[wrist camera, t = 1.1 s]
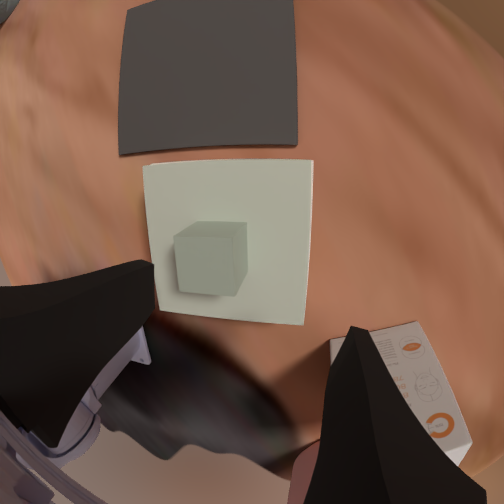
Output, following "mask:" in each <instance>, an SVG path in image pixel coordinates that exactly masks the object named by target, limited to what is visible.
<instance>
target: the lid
mask: <svg viewBox="0 0 504 504" xmlns="http://www.w3.org/2000/svg"><path fill="white" fill-rule="evenodd" d="M143 180H144V194H145V206H146V216H147V226H148V235H149V243H150V251H151V258H152V263H153V264H154V278H155V284H156V290H157V296H158V302H159V307H160V310H162V311H168V312H175V313H183V314H190V315H198V316H206V317H215V318H223V319H233V320H243V321H253V322H265V323H278V324H292V325H304V313H305V301H306V287H307V272H308V255H309V234H310V205H311V160H297V159H240V160H212V161H194V162H179V163H167V164H156V165H147V166H143Z"/></svg>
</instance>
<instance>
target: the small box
mask: <svg viewBox="0 0 504 504" xmlns="http://www.w3.org/2000/svg"><path fill="white" fill-rule="evenodd" d="M369 333H370V335H371V337H372V339H373V341H374V343H375V345H376V347H377V349H378V351H379V353H380V355H381V357H382V359H383V361H384V363H385V365H386V367H387V369H388V371H389V373H390V374H391V376H392V378H393V380H394V382H395V384H396V385H397V387H398V389H399V390H400V392H401V394H402V396H403V397H404V399H405V401H406V402H407V404H408V405H409V407H410V409H411V410H412V412H413V413H414V414H415V416H416V417H417V419H418V420H419V422H420V423H421V425H422V426H423V427H424V429H425V430H426V431H427V433H428V434H429V435H430V436H431V437H432V439H433V440H434V441H435V442H436V444H437V445H438V446H439V447H440V448H441V450H442V451H443V452H444V453H445V454H446V455H447V456H448V457H449V458H450V459H451V460H452V461H453V462H454V463H455V464H456V465H457V466H458V465H459V464H460V462H461V461H462V459H463V458H464V456H465V454H466V453H467V451H468V449H469V448H470V446H471V445H472V440H471V437H470V434H469V432H468V429H467V426H466V424H465V421H464V419H463V416H462V414H461V411H460V408H459V406H458V403H457V401H456V399H455V396H454V394H453V391H452V389H451V387H450V385H449V383H448V380H447V378H446V376H445V374H444V372H443V369H442V367H441V365H440V363H439V361H438V359H437V357H436V355H435V352H434V350H433V348H432V346H431V345H430V343H429V341H428V339H427V337H426V335H425V333H424V331H423V329H422V328H421V326H420V324H419V322H418V321H415V322H412V323H408V324H403V325H399V326H395V327H391V328H386V329H381V330H377V331H372V332H369ZM344 339H345V337H341V338H336V339H331V340H330V360H331V365H332V363H333V361H334V359H335V357H336V355H337V353H338V351H339V349H340V347H341V345H342V343H343V341H344Z"/></svg>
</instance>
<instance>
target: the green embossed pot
mask: <svg viewBox="0 0 504 504" xmlns="http://www.w3.org/2000/svg"><path fill="white" fill-rule="evenodd" d="M19 1H20V0H0V24H1V23H2V22H4V21H5V20H6V19H7V18H8V17H9V16H10V14H11V13H12V12H13V10H14V9H15V7H16V6H17V4H18V3H19Z"/></svg>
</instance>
